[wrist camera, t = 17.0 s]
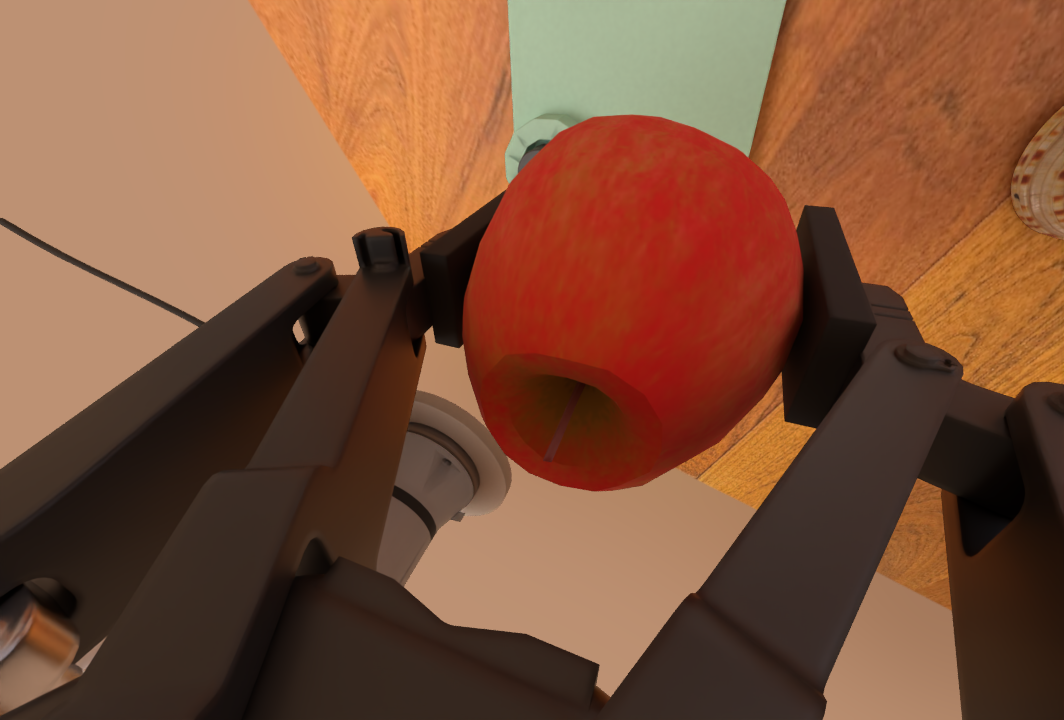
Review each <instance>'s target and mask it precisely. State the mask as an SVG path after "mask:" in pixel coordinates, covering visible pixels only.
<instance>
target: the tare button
mask: <svg viewBox="0 0 1064 720" xmlns="http://www.w3.org/2000/svg"><path fill="white" fill-rule="evenodd" d="M546 145H547V144H541V145H538V146H536V147H535V148H533V149H532V150H530V151H528V152H527V153H526V154H525V155H523V157H522V158H521V160H520V162H519V165H518V173H519V172H520V171H521V170H522V169H523V168H524V167H525V165H526V164H527V163H528V162H529V161H530V160H531V159H532V158H533V157H534V156H535V155H536V154H537V153H538V152H539V151H540V150H541V149H543V148H544V147H545V146H546Z"/></svg>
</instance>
